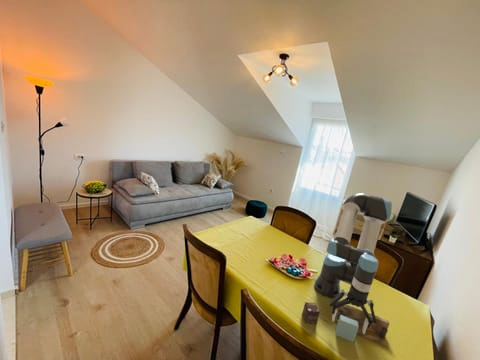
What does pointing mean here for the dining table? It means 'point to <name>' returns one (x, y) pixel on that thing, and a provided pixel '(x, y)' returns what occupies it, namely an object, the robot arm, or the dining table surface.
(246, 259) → the dining table surface
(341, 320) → the pale grey block
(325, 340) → the dining table surface
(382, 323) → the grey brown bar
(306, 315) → the box
